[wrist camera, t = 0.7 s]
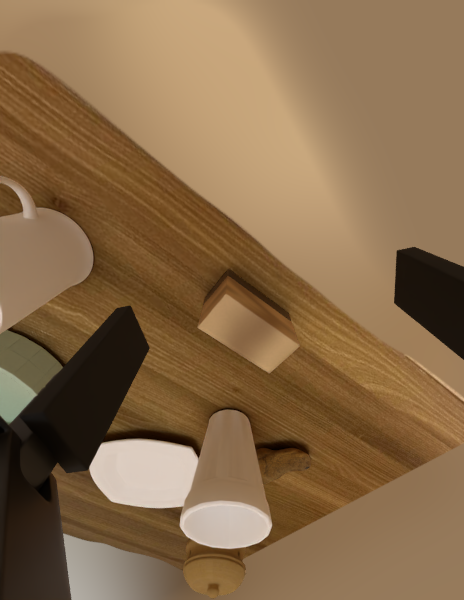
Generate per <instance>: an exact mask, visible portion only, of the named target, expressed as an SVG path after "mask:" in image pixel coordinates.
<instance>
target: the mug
mask: <svg viewBox="0 0 464 600" xmlns="http://www.w3.org/2000/svg"><path fill="white" fill-rule="evenodd" d="M0 183H3V184H6V185H8V186H10V187H11V188H12V189H13V190H14V191H15V192H16V193H17V195H18V196H19V198H20V200H21V202H22V205H23V212H21V213H18V214H13V215H8V216H3V217H0V334H1V333H3V332H4V331H6V330H7V329H9V328H10V327H11V326H13V325H14V324H16V323H17V322H19V321H20V320H22V319H23V318H25V317H26V316H28V315H29V314H31V313H32V312H34V311H35V310H37V309H38V308H39V307H41V306H42V305H44V304H45V303H47V302H48V301H50V300H51V299H53V298H54V297H56V296H57V295H59V294H60V293H62V292H63V291H65V290H66V289H68V288H69V287H71V286H74V285H76V284H79V283H80V282H82V281H83V280H85V279H86V278H87V277H88V275H89V274H90V272H91V270H92V267H93V250H92V247H91V244H90V241H89V239H88V238H87V236H86V234H85V233H84V231H83V230H82V229H81V228H80V227H79V226H78V225H77V224H76V223H75V222H74V221H73V220H72V219H70V218H69V217H67V216H66V215H64V214H62V213H60V212H58V211H55V210H52V209H48V208H36V206H35V204H34V201H33V199H32V197H31V196H30V194H29V193H28V192H27V190H26V189H25V188H24V187H23V186H21V185H20V184H19V183H17V182H16V181H14V180H12V179H9V178H7V177H3V176H0Z"/></svg>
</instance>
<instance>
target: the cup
mask: <svg viewBox="0 0 464 600" xmlns="http://www.w3.org/2000/svg"><path fill="white" fill-rule="evenodd" d="M180 527H181V529H182V530H183V532H184V533H185V535H186V536H187V537H188V538H190V539H192V540H194V541H195V542H197V543H199V544H203V545H206V546H210V547H214V548H226V549H232V548H242V547H247V546H250V545H253V544H256V543H259V542H260V541H262V540H263V539H264V538H266V537H267V536H268V535H269V532H270V530H271V527H272V521H271V516H270V510H269V505H268V503H267V501H266V497H265V492H264V487H263V483H262V478H261V473H260V468H259V464H258V459H257V454H256V450H255V445H254V440H253V435H252V431H251V426H250V422H249V419H248V418H247V417H246V416H245V415H244V414H243V413H241V412H239V411H236V410H228V409H227V410H222V411H218V412H217V413H215V414H213V415H212V416H211V418H210V419H209V424H208V427H207V431H206V435H205V438H204V442H203V446H202V449H201V453H200V457H199V460H198V464H197V468H196V471H195V475H194V479H193V482H192V486H191V490H190V492H189V493H188V495H187V497H186V499H185V502H184V506H183V509H182V513H181V517H180Z"/></svg>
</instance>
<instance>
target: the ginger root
mask: <svg viewBox="0 0 464 600" xmlns="http://www.w3.org/2000/svg"><path fill="white" fill-rule="evenodd" d="M256 454H257V459H258V464H259V468H260V473H261V478H262V483H263V484H266V483H268V482H270V481H273V480H276V479H278V478H279V477H280V476H282V475H283V474H284V473H286V472H289V471H297V470H298V471H299V470H300V471H303V470H307V469H308V468H309V467H310V465H311V459H310V456H309V455H308V454H307V453H304V452H303V451H301V450H299V449H295V448H287V449H283V450H276V451H274V450H270V449H268V448H259V449H257V450H256Z"/></svg>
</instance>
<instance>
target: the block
mask: <svg viewBox="0 0 464 600" xmlns="http://www.w3.org/2000/svg"><path fill="white" fill-rule="evenodd" d="M198 328H199V329H201V330H202V331H204V332H205V333H207V334H208V335H210V336H212V337H213V338H215V339H216V340H218V341H219V342H221V343H223V344H224V345H226V346H227V347H229V348H230V349H232V350H233V351H235V352H237V353H238V354H240V355H241V356H243V357H244V358H246V359H248V360H249V361H251V362H252V363H254V364H255V365H257V366H259V367H260V368H262V369H263V370H265V371H266V372H268V373H270V372H271V371H273V370H274V369H275V368H276V367H277V366H278V365H279V364H280V363H281V362H283V361H284V360H285V359H286V358H287V357H288V356H289V355H290V354H291V353H293V352H294V351H295V350H296V349H297V348H298V347H299V346H300V344H299V342H298V339H297V336H296V333H295V330H294V328H293V325H292V322H291V319H290V316H289V313H288V312H286V311H285V310H284V309H282V308H281V307H280V306H278V305H277V304H276V303H274V302H273V301H272V300H270V299H269V298H267V297H266V296H265V295H263V294H262V293H261V292H259V291H258V290H257V289H255V288H254V287H253V286H251V285H250V284H249V283H247V282H246V281H244V280H243V279H242V278H240V277H239V276H238V275H236V274H235V273H234V272H232V271H231V270H230V269H228V270H227V271H226V272H225V274H224V275H223V276H222V277H221V278H220V280H219V281H218V282H217V283H216V285H215V286H214V287H213V288H212V290H211V291H210V292H209V293H208V294H207V296H206V297H205V300H204V304H203V308H202V312H201V316H200V320H199V323H198Z"/></svg>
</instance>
